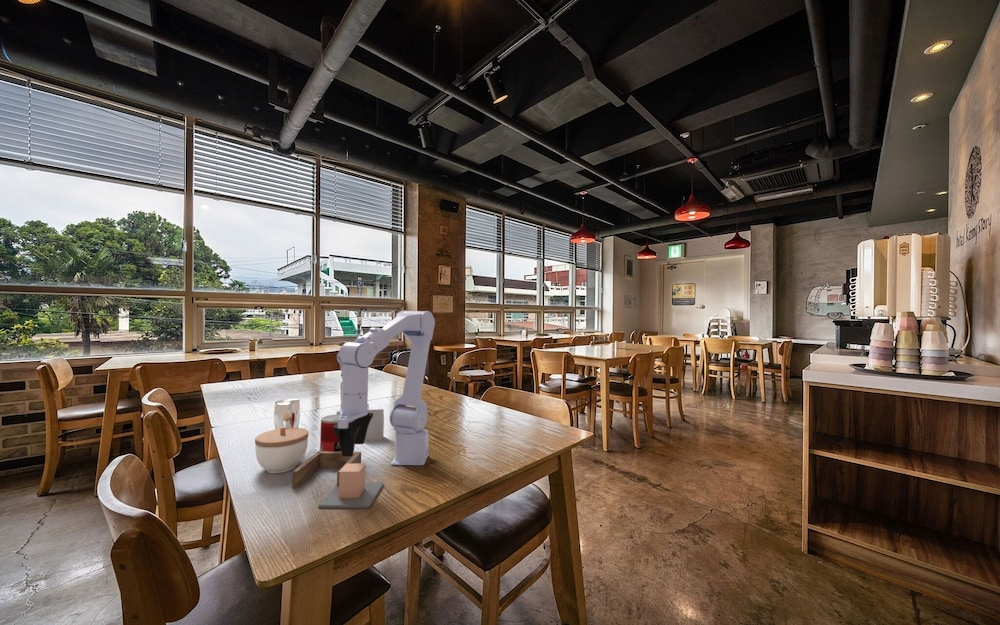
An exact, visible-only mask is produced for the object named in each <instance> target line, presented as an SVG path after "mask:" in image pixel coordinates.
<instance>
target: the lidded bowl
mask: <svg viewBox="0 0 1000 625" xmlns="http://www.w3.org/2000/svg"><path fill="white" fill-rule="evenodd" d="M308 441H309V430H308V429H306V428H301V427H298V428H285V427H281V428H280V429H276V430H275V429H271V430H268V431H264V432H262V433H260V434H258V435H256V436H255V438H254V445H255V450H254V451H255V457H256V460H257V462H258V465H260V467H261V468H263V469H264V470H266V472H267V473H268V474H269V473H270V474H280V473H281V474H282V473H287V472H289V471H293V469H294V470H295V469H296V468H297V467H298V466H297V465H298V464H299V463H300V462H301V461H302V460H303V459H304V457H305V455H306V452H307V448H308V443H309V442H308Z"/></svg>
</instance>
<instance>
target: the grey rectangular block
mask: <svg viewBox="0 0 1000 625" xmlns="http://www.w3.org/2000/svg"><path fill="white" fill-rule="evenodd" d="M368 413H373V417H372V419H371V421H370V423H369V426H368V429H367V433H366V438H365V441H364V442H369V441H370V442H372V441H376V442H377V441H383V439H384V431H385V430H384V429H385V416H384V415H385V413H384V408H381V409H379V408H378V409H373V408H371V409H369V411H368Z"/></svg>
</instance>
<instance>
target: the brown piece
mask: <svg viewBox="0 0 1000 625" xmlns="http://www.w3.org/2000/svg"><path fill="white" fill-rule="evenodd" d="M346 464H362V452H361V451H354V452H353V455H352V456H342V452H330V451H320V450H318V451H316V452H315V453H314V454H313V455H311V456H310V457H309V458H307V459H306V460H305V461H304V462H302V463H301V464H300V465H299V466H296V467H295V468H294V470H292V475H291V476H292V479H291V480H292V483H291V488H293V489H298V488H299V487H300V486H301V485H302V484H303V483H304V482H306V481H307V480H308V479H309V478H310V477H311V476H313V474H315V472H316V471H318V470H319V469H320V468H329V469H330V468H333V469H334V468H335V469H337V468H338V469H339V468H340V469H339V470H337V472H336V473H337V474H336V475H337V476H336V480H337V481H336V485H337V486H339V471H340V470H341V469H342V468H343V467H344V466H345V465H346Z"/></svg>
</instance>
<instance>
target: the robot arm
mask: <svg viewBox="0 0 1000 625" xmlns="http://www.w3.org/2000/svg"><path fill="white" fill-rule="evenodd" d="M435 325H436V320H435V318H434V315H433V313H432V312H431V311H429V310H425V311H422V310H421V311H420V310H401V311H399V312H397V313H396V315H395V318H393V319H392V320H390V321H389V322H388V323H387V324H386V325H384V326H383V327H382V328H381V327H370V328H369V330H368V332H366V333H365V334H364V335H362V336H358V337H357V338H356V339H355V340H354V341H350V342H349V341H348V342H345V343H344V344H343V345H341V347H339V350H338V354H336V360H337V362H338V364H339V366H340V371H341V373H342V379H341V380H342V381H341V382H342V383H341V385H342V386H341V409H338V410H337V411H336V413H335V415H340V419H338V424H336V425H335V426H333V432H334V433H335V435H336V436H337V438H338V441H339V444H340V448H341V452H342V456H352V455H353V452H355V445H364V443H365V442H366V441H365V438H366V433H367V429H368V426H369V423H370V421H371V419H372V417H373V413H368V411H369V410H370V408H369V406H370V405H369V403H368V395H369V394H368V393H369V390H368V388H369V387H368V386H369V366H371V365H372V364H373V361H374V360H375V357H376V356H377V355H378V354H379V353H380V352H381V351H382V350H384V349H386V348H387V347H388V346H389V345H390V342H391V341H390V339H392V338H394V337H396V336H397V335H399V334H401V333H402V334H403V335H404V336H405V337H406V338H407V339H408V340H410V342H411V347H410V354H409V360H408V364H407V370H406V375H405V380H404V387H403V392H402V395H401V396H399V397H398V398H397V399H395V400H394V403H393V405H392V406H393V407H392V409H391V411H390V413H389V423H390V425H391V427H393V431H395V435H394V436H395V440H394V444H395V445H394V446H395V447H394V457H393V459H392V461H391V462H390V466H424V465H425V463H426V461H427V459H428V457H429V437H430V436H429V430H428V429H424V428H425V426H426V425H427V423H428V407H429V406H428V404H427V403H426V401H424V400H423V398H422V397H421V396H422V392H423V386H424V385H423V384H424V380H425V373H426V367H427V362H428V357H429V356H428V355H429V352H430V351H429V349H430V345H431V341H432V340H433V336H434V331H435Z"/></svg>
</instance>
